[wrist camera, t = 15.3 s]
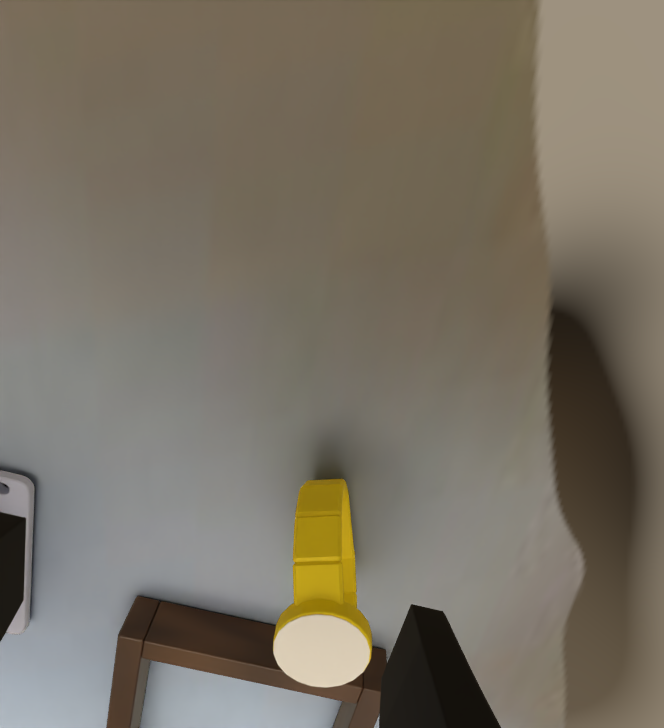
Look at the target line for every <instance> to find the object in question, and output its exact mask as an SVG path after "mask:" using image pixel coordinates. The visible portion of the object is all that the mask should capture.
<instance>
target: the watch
mask: <svg viewBox="0 0 664 728" xmlns="http://www.w3.org/2000/svg"><path fill="white" fill-rule="evenodd" d="M295 517H296V519H295V525H294V547H293V561H294V562H295V564H294V565H293V584H294V604H292V605H290V606H289V607H288V608H287V609H286V610H285V611H284V612H283V613H282V614H281V616H280V618H279V620H278V622H277V624H276V629H275V634H274V639H273V654H274V656H275V659H276V661H277V664H278V665H279V667H280V668H281V669H282V670H283V671H284V672H285V674H287V675H288V676H290V677H291V678H293V679H294V680H296V681H298V682H300V683H303V684H306V685H309V686H314V687H325V688H327V687H334V686H341V685H343V684H346V683H348V682H350V681H353V680H354V679H355V678H357V677H358V676H359V675H360V674H362V673H363V672H364V670H365V669H366V667H367V665H368V664H369V662H370V660H371V652H372V633H371V629H370V626H369V623H368V621H367V619H366V618H365V617H364V615H363V614H362V613H361V612H360V611H359V610H358V609H357V595H356V592H357V591H356V569H355V551H354V545H353V534H352V524H351V513H350V503H349V492H348V488H347V485H346V482H345V480H343V479H326V480H308V481H307V482H306V483H305V484H304V485H303V486H302V487H301V488H300V491H299V496H298V502H297V507H296V513H295Z"/></svg>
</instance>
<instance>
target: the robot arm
mask: <svg viewBox="0 0 664 728" xmlns="http://www.w3.org/2000/svg"><path fill="white" fill-rule="evenodd" d="M2 483H4V484H6V485H7V486H8V487H9V488H7V487H5V486H4V485H3V484H2ZM34 491H35V489H34V484H33V483H32V481H31V480H30V479H28V478H27V477H25V476H22V475H19V474H14V473H10V472H6V471H1V470H0V641H1V640H2V638H3V636H4V635H5V633H9V634H22V633H23V632H24V631H25V630H26V628H27V627H28V625H29V623H30V598H31V571H32V544H33V518H34ZM379 728H501V727H500V725H499V723H498V721H497V719H496V717H495V715H494V714H493V712H492V710H491V708H490V706H489V704H488V702H487V700H486V698H485V696H484V694H483V692H482V690H481V688H480V686H479V684H478V682H477V680H476V678H475V676H474V674H473V672H472V670H471V668H470V666H469V664H468V662H467V660H466V658H465V656H464V654H463V652H462V650H461V647H460V645H459V643H458V641H457V639H456V637H455V635H454V633H453V630H452V628H451V626H450V624H449V622H448V620H447V618H446V616H445V614H444V613H443V611H439V610H434V609H430V608H426V607H421V606H417V605H412V604H411V606H410V609H409V611H408V614H407V616H406V619H405V621H404V624H403V626H402V628H401V631H400V633H399V636H398V638H397V641H396V643H395V646H394V648H393V651H392V653H391V655H390V658H389V660H388V663H387V665H386V668H385V670H384V673H383V675H382V678H381V695H380V718H379Z"/></svg>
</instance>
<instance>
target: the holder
mask: <svg viewBox="0 0 664 728" xmlns="http://www.w3.org/2000/svg"><path fill="white" fill-rule="evenodd" d="M275 629H276V626H273V625H269V624H264V623H260V622H255V621H250V620H246V619H241V618H237V617H232V616H228V615H223V614H219V613H214V612H210V611H205V610H200V609H196V608H191V607H187V606H182V605H178V604H173V603H169V602H164V601H161V602H159V601H158V600H154V599H150V598H145V597H141V596H137V597H136V598H135V600H134V603H133V605H132V607H131V609H130V611H129V613H128V615H127V617H126V619H125V622H124V624H123V626H122V628H121V630H120V632H119V634H118V640H117V648H116V656H115V664H114V672H113V680H112V688H111V695H110V703H109V711H108V719H107V727H106V728H139V727H140V721H141V715H142V709H143V703H144V697H145V691H146V684H147V678H148V672H149V666H150V660H153V661H158V662H162V663H167V664H172V665H176V666H181V667H186V668H190V669H195V670H200V671H204V672H209V673H214V674H218V675H223V676H228V677H232V678H237V679H242V680H246V681H251V682H256V683H260V684H265V685H270V686H274V687H279V688H284V689H288V690H293V691H298V692H302V693H307V694H312V695H316V696H321V697H326V698H330V699H335V700H340V701H342V704H341V707H340V709H339V712H338V715H337V717H336V720H335V723H334V725H333V728H374V725H375V723H376V721H377V718H378V716H379V714H380V695H381V678H382V675H383V673H384V670H385V668H386V665H387V659H386V650H384V649H379V648H374V647H372V652H371V660H370V662H369V664H368V665H367V667H366V669H365V670H364V672H363V673H362V674H360V675H359V676H358V677H357V678H355V679H354V680H353V681H350V682H348V683H346V684H343V685H341V686H334V687H327V688H325V687H314V686H309V685H306V684H303V683H300V682H298V681H296V680H294V679H293V678H291V677H290V676H288V675H287V674H285V672H284V671H283V670H282V669H281V668H280V667H279V665H278V664H277V661H276V659H275V656H274V654H273V639H274V634H275Z"/></svg>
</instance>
